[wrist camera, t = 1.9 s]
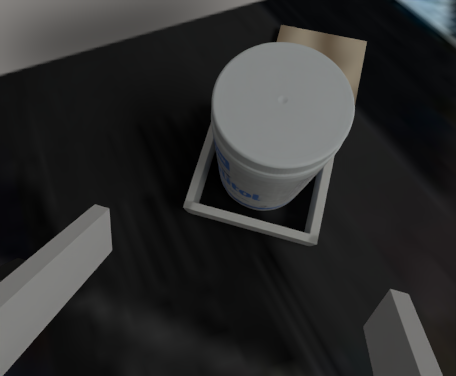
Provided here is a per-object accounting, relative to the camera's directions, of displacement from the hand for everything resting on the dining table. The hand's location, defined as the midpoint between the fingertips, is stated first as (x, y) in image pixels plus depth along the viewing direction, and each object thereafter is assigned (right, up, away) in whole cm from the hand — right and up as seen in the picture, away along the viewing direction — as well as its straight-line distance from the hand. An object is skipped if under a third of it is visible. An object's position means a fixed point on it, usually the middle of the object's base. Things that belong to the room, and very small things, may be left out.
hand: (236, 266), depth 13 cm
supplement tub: (+4, +6, +19) cm, 20 cm away
